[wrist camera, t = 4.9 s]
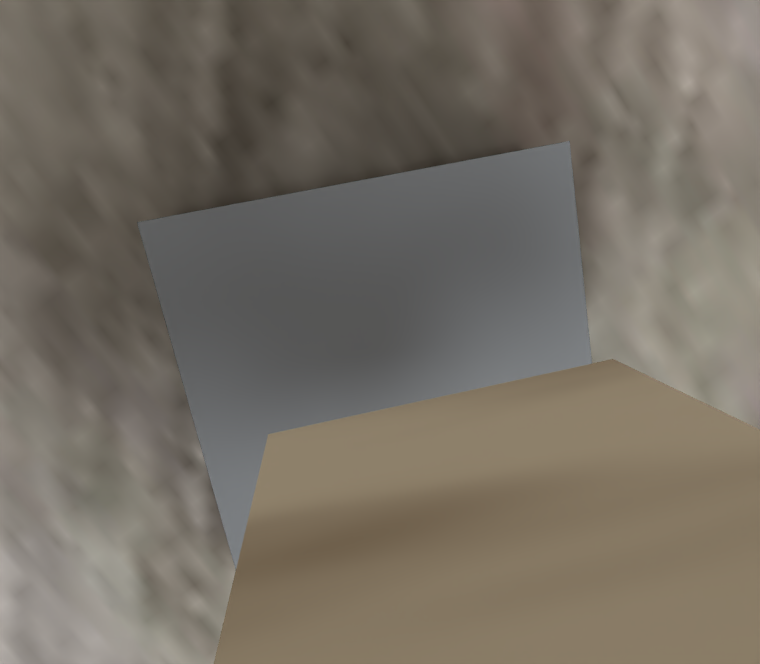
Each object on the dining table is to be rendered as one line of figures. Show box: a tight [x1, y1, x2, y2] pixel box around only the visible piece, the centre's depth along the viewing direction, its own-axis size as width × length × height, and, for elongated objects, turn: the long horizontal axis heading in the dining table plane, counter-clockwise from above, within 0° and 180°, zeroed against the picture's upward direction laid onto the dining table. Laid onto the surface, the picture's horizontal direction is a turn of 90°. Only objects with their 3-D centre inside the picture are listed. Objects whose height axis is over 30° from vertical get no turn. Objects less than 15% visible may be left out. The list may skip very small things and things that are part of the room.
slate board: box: [137, 141, 592, 569], centre depth 17 cm, size 12×12×3 cm
